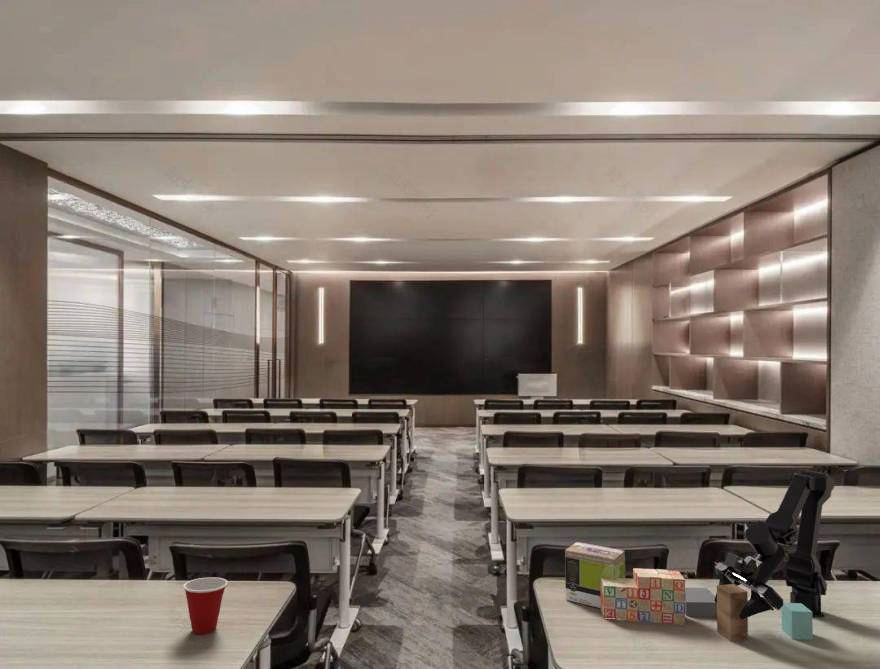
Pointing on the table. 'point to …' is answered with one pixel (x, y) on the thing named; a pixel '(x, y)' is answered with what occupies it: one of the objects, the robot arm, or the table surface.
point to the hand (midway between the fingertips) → (727, 609)
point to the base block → (700, 602)
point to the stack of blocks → (645, 597)
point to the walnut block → (731, 612)
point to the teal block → (797, 621)
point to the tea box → (591, 571)
